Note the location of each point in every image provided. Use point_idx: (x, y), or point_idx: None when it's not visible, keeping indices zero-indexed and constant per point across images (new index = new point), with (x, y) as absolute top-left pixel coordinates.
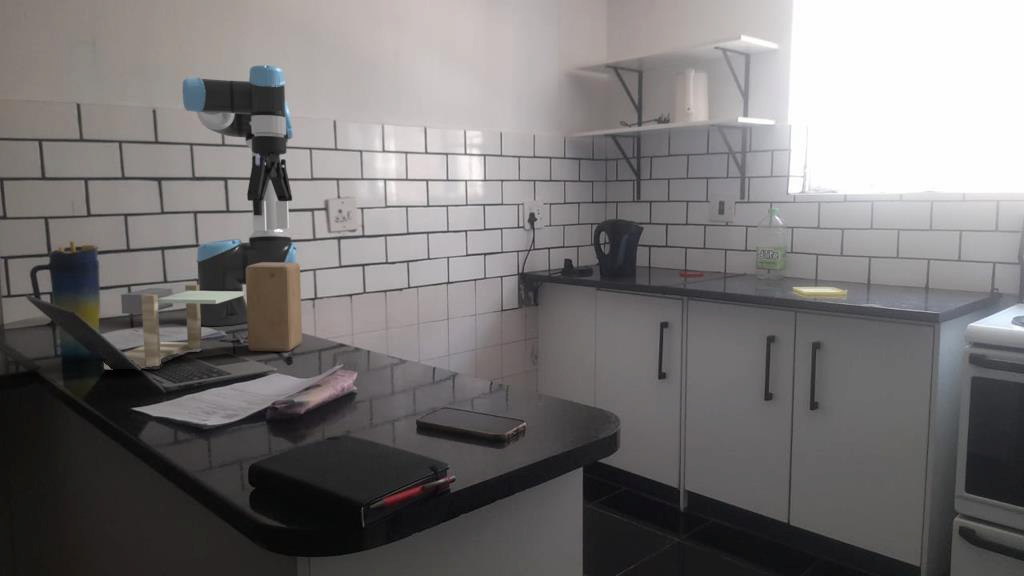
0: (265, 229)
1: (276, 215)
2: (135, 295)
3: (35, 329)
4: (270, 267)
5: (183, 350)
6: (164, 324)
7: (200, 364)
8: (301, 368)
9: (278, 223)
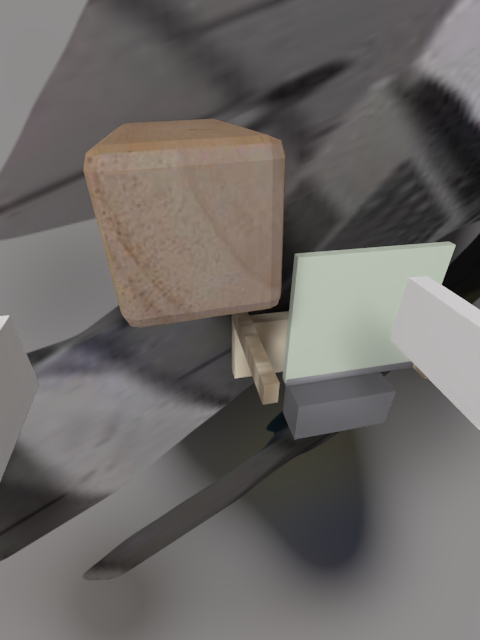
0: (427, 278)
1: (4, 467)
2: (390, 402)
3: (123, 554)
4: (282, 217)
5: (262, 318)
6: (15, 481)
7: (330, 250)
8: (383, 15)
9: (22, 401)
